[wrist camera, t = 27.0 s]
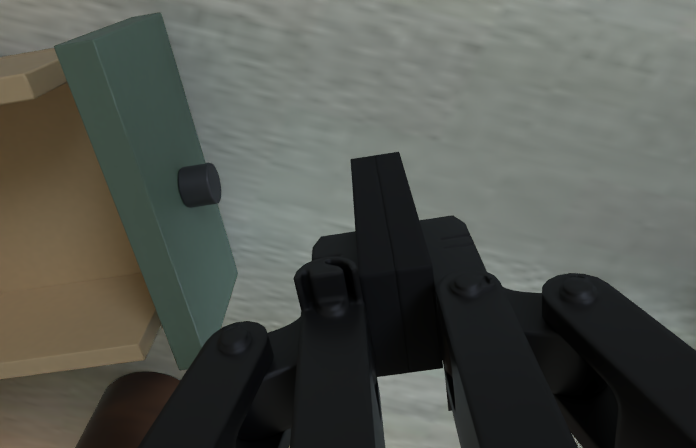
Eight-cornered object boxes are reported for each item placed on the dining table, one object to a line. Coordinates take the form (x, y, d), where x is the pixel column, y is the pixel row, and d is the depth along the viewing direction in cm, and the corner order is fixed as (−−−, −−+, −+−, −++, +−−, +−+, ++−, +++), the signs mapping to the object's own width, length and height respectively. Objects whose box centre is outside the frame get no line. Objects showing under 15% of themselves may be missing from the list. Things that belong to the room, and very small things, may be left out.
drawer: (190, 6, 22) (133, 32, 16) (262, 269, 27) (240, 363, 21) (-159, 67, 22) (-339, 113, 16) (-21, 310, 28) (-118, 410, 22)
